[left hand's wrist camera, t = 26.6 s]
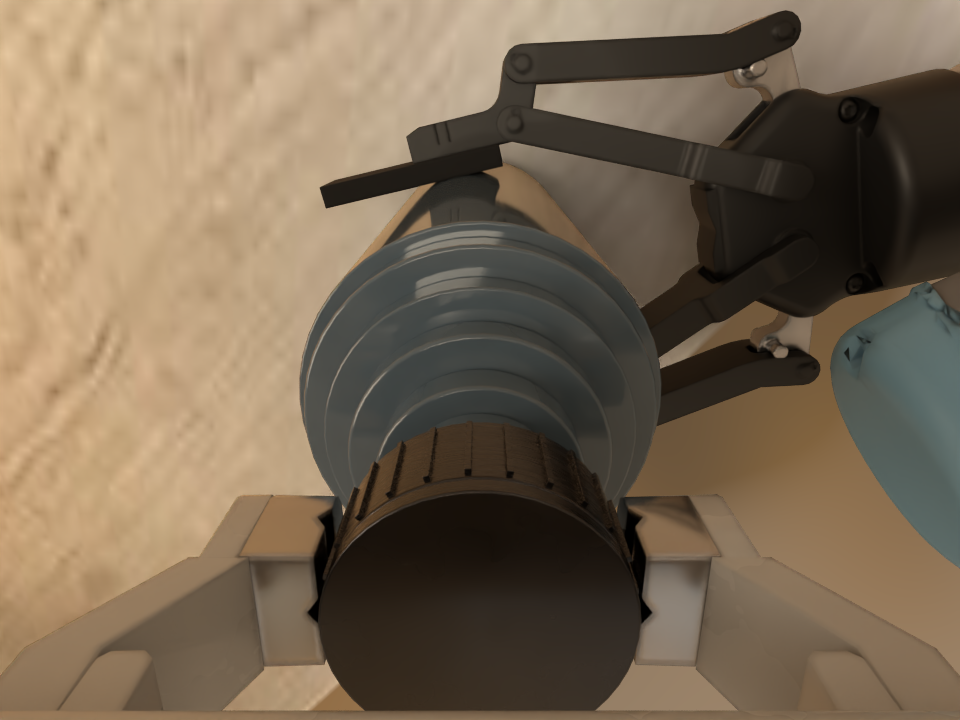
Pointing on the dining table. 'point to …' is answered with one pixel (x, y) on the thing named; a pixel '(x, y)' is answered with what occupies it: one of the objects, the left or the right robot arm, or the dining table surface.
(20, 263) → the dining table surface
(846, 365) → the right robot arm
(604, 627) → the cap
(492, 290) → the bottle
